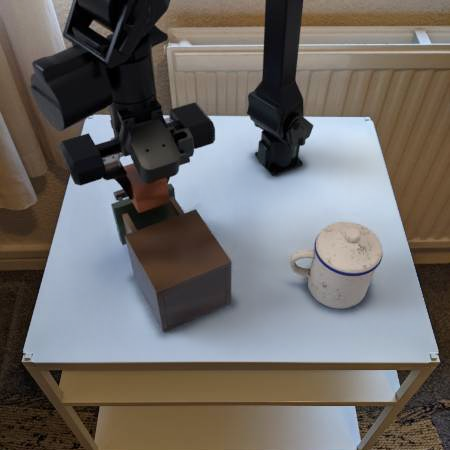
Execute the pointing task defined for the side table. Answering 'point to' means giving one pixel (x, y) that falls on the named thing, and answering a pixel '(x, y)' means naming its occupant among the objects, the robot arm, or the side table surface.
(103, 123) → the side table surface
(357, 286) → the teacup with lid
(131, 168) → the block
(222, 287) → the cabinet
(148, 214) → the drawer
